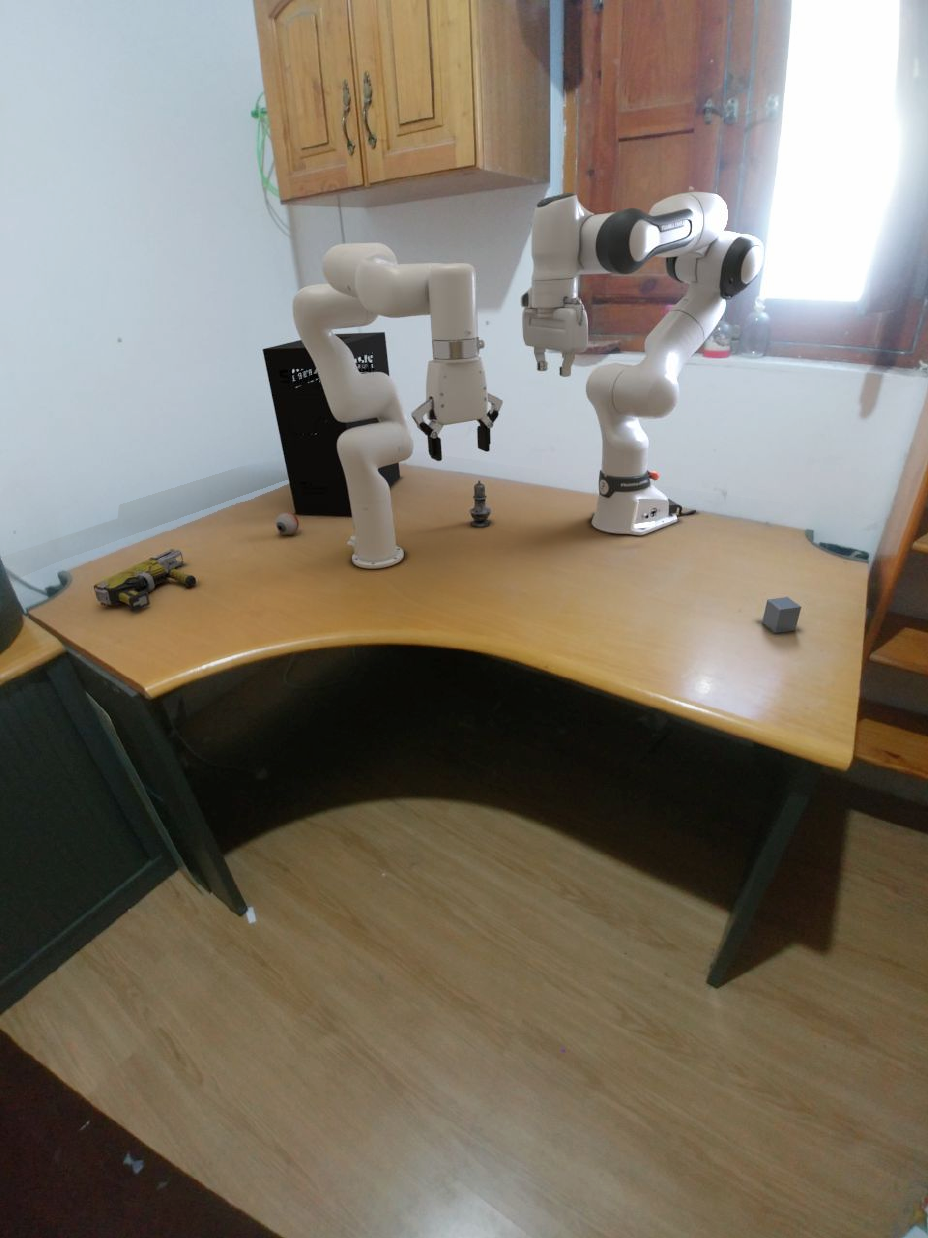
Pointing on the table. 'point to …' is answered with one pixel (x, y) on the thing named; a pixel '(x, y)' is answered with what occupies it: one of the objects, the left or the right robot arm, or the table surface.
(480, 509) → the grey chess piece
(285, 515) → the eyeball
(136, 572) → the toy gun
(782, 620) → the cube
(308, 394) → the black tall box
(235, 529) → the table surface
